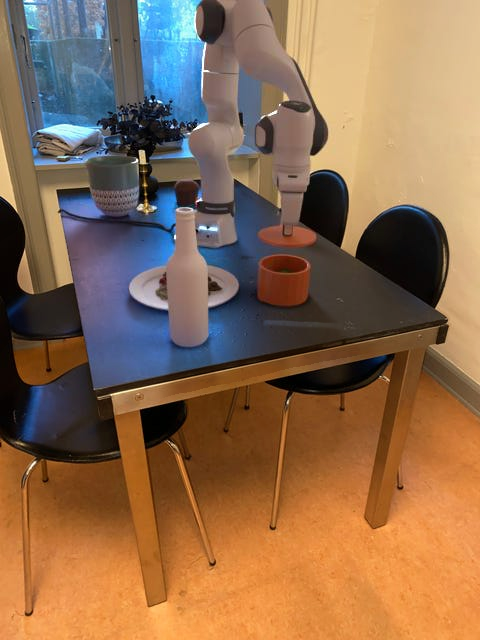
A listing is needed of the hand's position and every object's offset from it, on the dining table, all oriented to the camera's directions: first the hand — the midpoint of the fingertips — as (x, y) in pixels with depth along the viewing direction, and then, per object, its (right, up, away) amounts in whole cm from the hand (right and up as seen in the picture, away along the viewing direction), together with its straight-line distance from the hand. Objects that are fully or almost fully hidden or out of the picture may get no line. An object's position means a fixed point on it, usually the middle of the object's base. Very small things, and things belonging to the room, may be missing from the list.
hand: (287, 231), depth 118 cm
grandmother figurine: (+6, +12, +60) cm, 62 cm away
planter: (-62, +20, +71) cm, 96 cm away
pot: (0, -16, +9) cm, 18 cm away
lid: (0, -1, +1) cm, 2 cm away
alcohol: (-24, -27, -11) cm, 38 cm away
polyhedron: (0, -14, +9) cm, 16 cm away
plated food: (-27, -14, +11) cm, 33 cm away
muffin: (-36, +30, +89) cm, 100 cm away
